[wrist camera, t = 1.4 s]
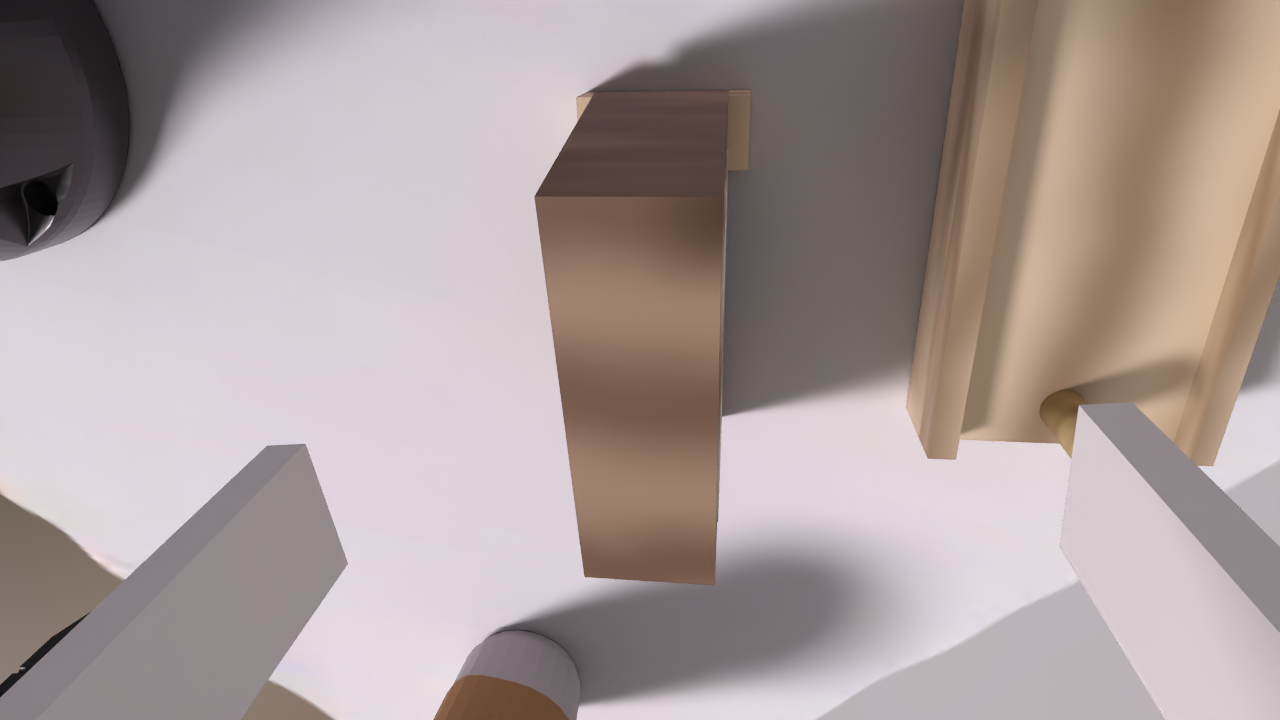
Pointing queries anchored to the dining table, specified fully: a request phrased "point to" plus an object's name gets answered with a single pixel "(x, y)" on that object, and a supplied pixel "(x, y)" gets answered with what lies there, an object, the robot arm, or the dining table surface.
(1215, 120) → the ledge
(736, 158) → the block
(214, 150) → the dining table surface
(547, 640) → the coffee cup
